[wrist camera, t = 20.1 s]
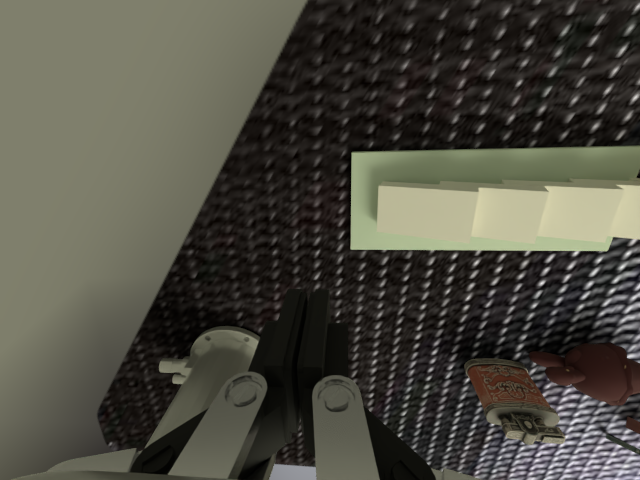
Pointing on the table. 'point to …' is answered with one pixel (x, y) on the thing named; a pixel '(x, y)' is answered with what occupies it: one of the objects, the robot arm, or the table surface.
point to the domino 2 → (507, 211)
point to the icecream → (594, 371)
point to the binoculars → (632, 425)
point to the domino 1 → (427, 210)
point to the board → (478, 169)
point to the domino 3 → (577, 209)
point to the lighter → (513, 401)
